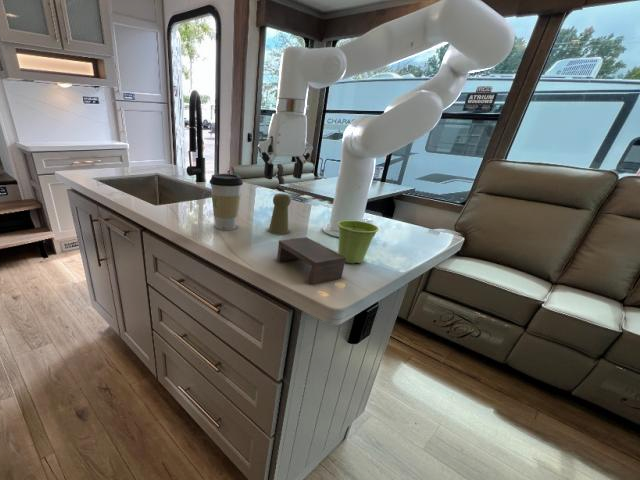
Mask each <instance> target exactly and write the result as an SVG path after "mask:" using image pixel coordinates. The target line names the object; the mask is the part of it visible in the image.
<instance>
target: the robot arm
mask: <svg viewBox="0 0 640 480" xmlns="http://www.w3.org/2000/svg"><path fill="white" fill-rule="evenodd" d="M515 33H516V32H515V29H514V26H513V25H512V24H511V22H510V21H509V20H508V19H506V18H505V17H504V16H502V14H500V13H499V12H497V11H495V9H493V8H492V7H491V6H489V5H488V4H486V3H485V2H484V1H482V0H438V1H437V2H435V3H432V4H430V5H428V6H425V7H423V8H420V9H418V10H415V11H413V12H410V13H408V14H406V15H403V16H400V17H398V18H395V19H393V20H389V21H387V22H384V23H382V24H380V25H378V26H376V27H374V28H372V29H369V31H367V32H365V33H364V34H362V35H360V36H358V37H357V38H354V39H353V40H350V41H348V42H347V43H346V42H345V43H344V44H341V45H339V46H337V47H334V46H328V47H327V46H326V47H318V48H317V47H316V48H309V47H306V46H299V45H297V46H296V45H293V46H288V47H286V48H284V49H283V51H282V52H281V57H280V67H279V76H278V78H279V79H278V88H277V99H276V109H275V113H274V112H273V113H272V116H271V118H270V123H269V126H268V134H267V138H266V139H265V140H264V141H262V142H260V143H259V144H258V145H257V149H258V153H259V156H260V157H261V160H262V161H263V163H264V169H263V170H264V171H263V175H264V179H267V180H270V181H271V180H273V176H274V175H273V174H274V163H273V161H275V160H276V158H277V157H293V158H294V159H295V161H296V162H294V165H293V172H292V177H293V178H295V179H297V180H301V179H302V175H303V170H304V169H303V168H304V165H305V164H306V161H307V160H309V158H310V156H311V154H312V152H313V149H314V146H313V145H312V144H310V143H309V142H308V141H307V132H308V131H307V130H308V120H307V119H308V117H307V115H306V111H308V110H309V109H310V105H309V104H308V95H309V87H311V88H314V89H317V90H319V89H323V88H327V87H328V88H329V87H331V86H333V85H336V84H338V82H341V81H344V80H347V79H349V78H352V77H355V76H357V75H360V74H365V73H369V72H374V71H377V70H380V69H383V68H386V67H390V66H392V65H394V64H398V63H399V62H402V61H405V60H407V59H409V58H413V57H416V56H418V55H421V54H423V53H426V52H429V51H431V50H434V49H437V48H439V47H442V46H445V45H447V44H449V46H448V47H447V49H446V51H445V53H444V55H443V58H442V61H441V64H440V66H439V69H438V70H437V72H436V74H435V75H433V77H431V78H429V79H428V80H426V81H425V82H423V83H421V84H420V85H418V86H416V87H414V88H413V89H410V90H408V91H407V92H405V93H404V94H401V95H399V96H397V97H395V98H394V99H392V101H391V102H390V103H389V104H388V105H387V106H386V108H385V109H384V112H383V113H380V114H379V115H362V116H358V117H356V118H355V119H353V120H352V121H350V123H348V125H347V126H346V127H345V130H344V132H343V135H342V140H341V151H340V152H341V153H340V154H341V155H340V164H339V168H338V169H339V170H338V175H337V181H336V185H335V191H334V196H333V201H332V207H331V213H330V218H329V223H327V224H324V225H323V228H322V230H323V232H324V233H326V234H327V235H329V236H332V237H336V238H339V226H338V222H340V221H345V220H352V221H361V222H366V223H370V224H374V221H373V219H372V218H364V216H365V213H366V208H367V203H368V200H369V196H370V192H371V191H370V190H371V187H372V182H373V179H374V174H375V171H376V170H375V169H376V159H381V158H384V157H386V156H389V155H390V154H392V153H395V152H396V151H398V150H400V149H402V148H404V147H406V146H408V145H409V144H411V143H413V142H415V141H417V140H419V139H420V138H422V137H424V136H426V135H428V134H429V133H430V132H431V131H432V130H433V129H434V128H436V126H437V124H438V123H439V121H440V120H441V117H442V114H443V111H444V110H447V109H448V108H450V107H451V106H453V104H454V103H455V102H456V101H457V100H458V98H460V95H461V94H462V92H463V90H464V87H465V85H466V83H467V80H468V77H469V75H470V74H471V73H475V72H476V73H477V72H481V71H486V70H490V69H492V68H494V67H496V66H498V65H500V64H501V63H502V62H504V61H505V60H506V59H507V58H508V56H509V55H510V53H511V52H512V50H513V47H514V45H515V41H516V34H515Z"/></svg>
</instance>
